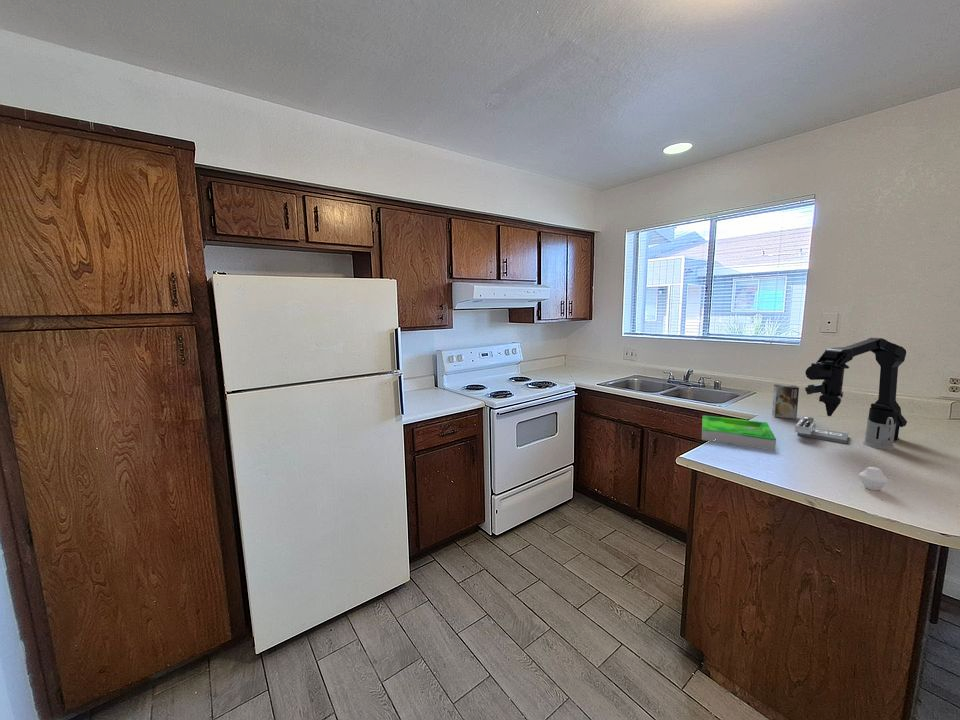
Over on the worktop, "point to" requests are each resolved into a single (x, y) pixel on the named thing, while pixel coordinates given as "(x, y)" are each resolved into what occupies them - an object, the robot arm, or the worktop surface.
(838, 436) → the label board
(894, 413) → the grey rounded piece
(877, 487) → the white faceted lump
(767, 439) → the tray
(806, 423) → the swing arm
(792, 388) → the coffee box
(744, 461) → the worktop surface
